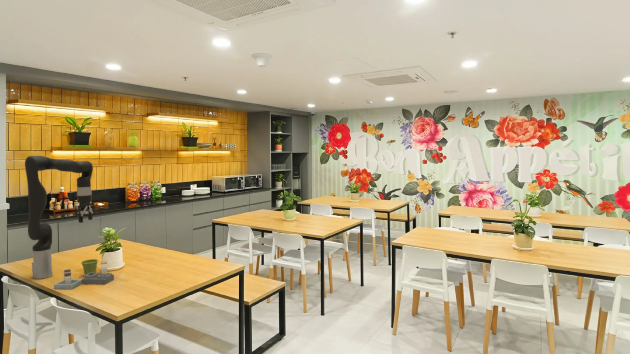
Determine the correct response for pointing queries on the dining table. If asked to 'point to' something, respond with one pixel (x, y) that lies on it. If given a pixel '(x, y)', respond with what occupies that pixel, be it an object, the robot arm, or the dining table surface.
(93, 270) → the plant pot
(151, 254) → the dining table surface
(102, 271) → the fuse
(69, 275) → the fuse
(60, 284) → the parts tray
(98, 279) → the fuse block
